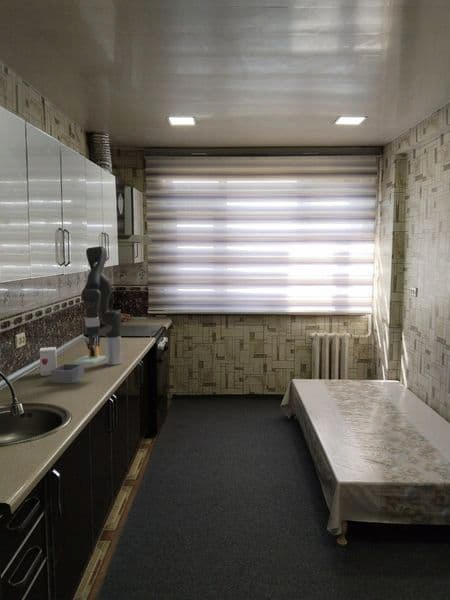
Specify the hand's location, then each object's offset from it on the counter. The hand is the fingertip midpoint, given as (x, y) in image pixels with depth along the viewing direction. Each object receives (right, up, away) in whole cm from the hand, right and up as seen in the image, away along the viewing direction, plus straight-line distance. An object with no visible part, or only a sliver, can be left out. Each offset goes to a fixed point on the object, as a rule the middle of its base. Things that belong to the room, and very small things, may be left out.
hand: (93, 355), depth 290 cm
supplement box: (-30, -12, +14) cm, 35 cm away
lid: (-1, -3, -5) cm, 6 cm away
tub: (-14, -13, -1) cm, 19 cm away
